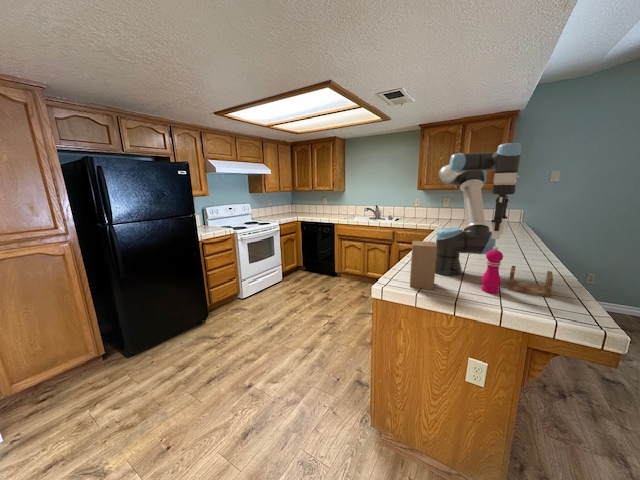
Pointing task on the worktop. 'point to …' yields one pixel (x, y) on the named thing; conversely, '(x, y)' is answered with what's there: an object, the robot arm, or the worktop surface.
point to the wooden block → (423, 264)
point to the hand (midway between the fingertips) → (497, 236)
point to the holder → (531, 285)
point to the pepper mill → (492, 272)
